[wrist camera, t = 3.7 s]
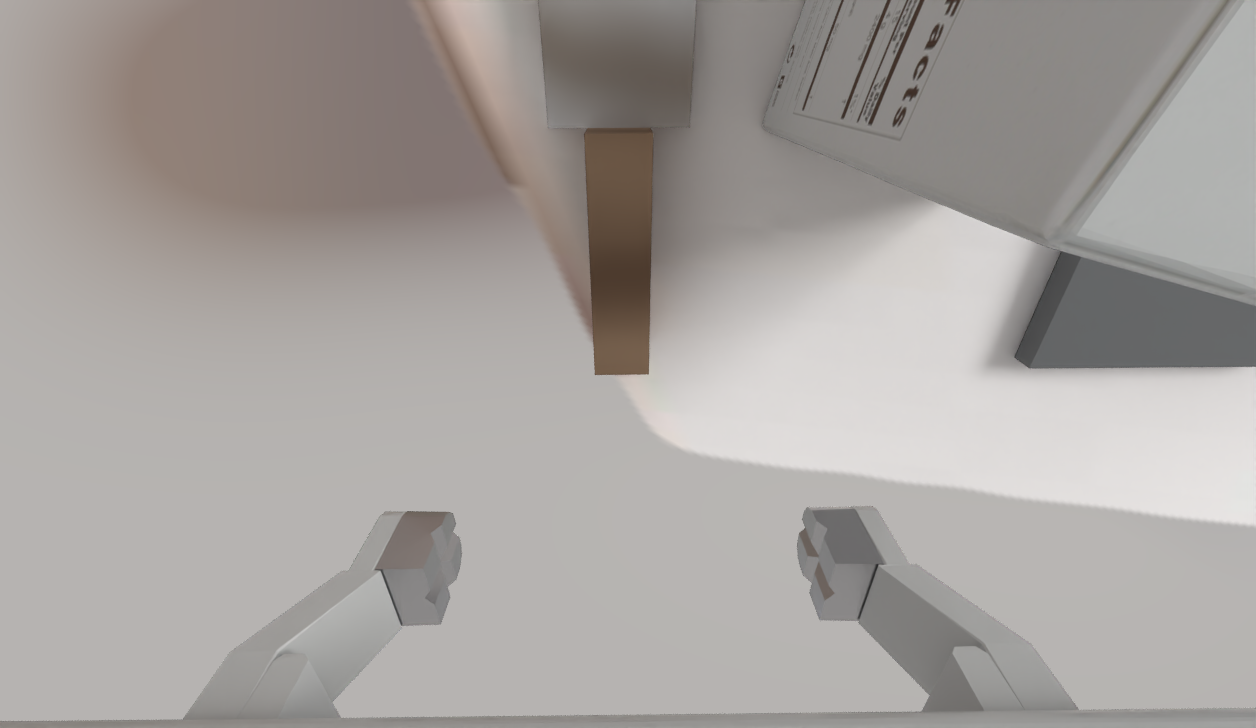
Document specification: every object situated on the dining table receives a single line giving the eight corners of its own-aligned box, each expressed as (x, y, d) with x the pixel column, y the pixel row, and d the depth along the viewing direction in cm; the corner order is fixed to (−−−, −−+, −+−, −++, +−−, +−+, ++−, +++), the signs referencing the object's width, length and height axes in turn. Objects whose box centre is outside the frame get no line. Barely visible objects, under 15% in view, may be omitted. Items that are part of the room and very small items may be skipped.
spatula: (538, -47, 16) (522, -70, 13) (694, -48, 16) (709, -71, 13) (567, 341, 23) (560, 375, 20) (675, 339, 23) (682, 373, 21)
